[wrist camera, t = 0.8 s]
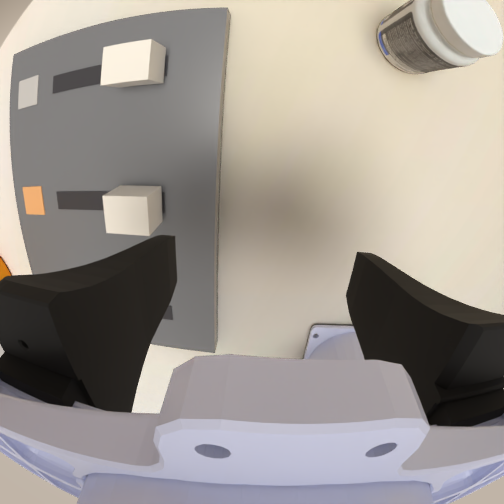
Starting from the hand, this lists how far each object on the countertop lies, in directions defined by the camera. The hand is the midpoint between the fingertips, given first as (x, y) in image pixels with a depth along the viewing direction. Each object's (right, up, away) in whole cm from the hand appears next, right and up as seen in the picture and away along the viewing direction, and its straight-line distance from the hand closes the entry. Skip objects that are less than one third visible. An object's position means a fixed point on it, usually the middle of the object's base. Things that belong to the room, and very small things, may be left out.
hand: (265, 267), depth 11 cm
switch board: (-12, +5, +9) cm, 15 cm away
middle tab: (-8, +4, +7) cm, 11 cm away
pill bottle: (+10, +15, +3) cm, 18 cm away
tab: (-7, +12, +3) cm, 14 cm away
